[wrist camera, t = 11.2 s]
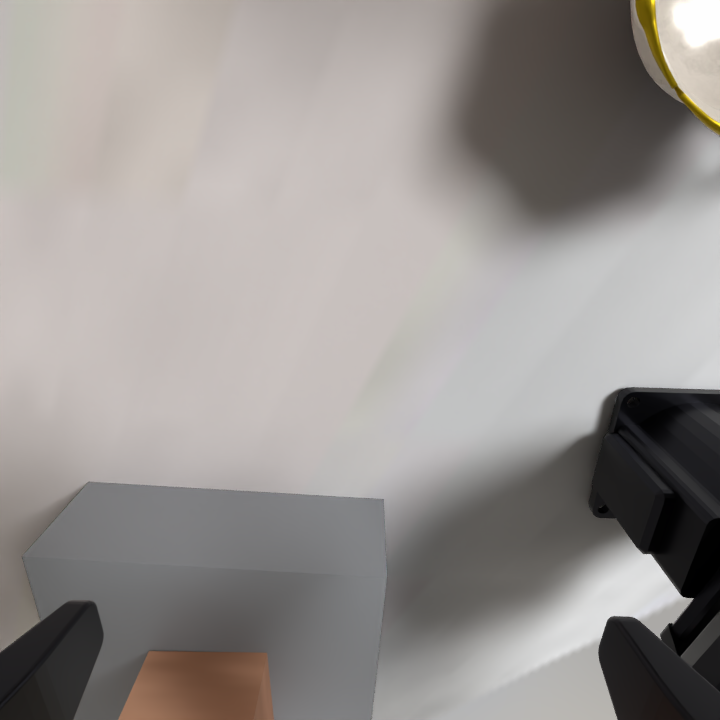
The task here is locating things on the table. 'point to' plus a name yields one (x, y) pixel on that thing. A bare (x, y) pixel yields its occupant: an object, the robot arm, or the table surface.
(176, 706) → the terracotta cube
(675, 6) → the chinaware
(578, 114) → the table surface
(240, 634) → the gray block
